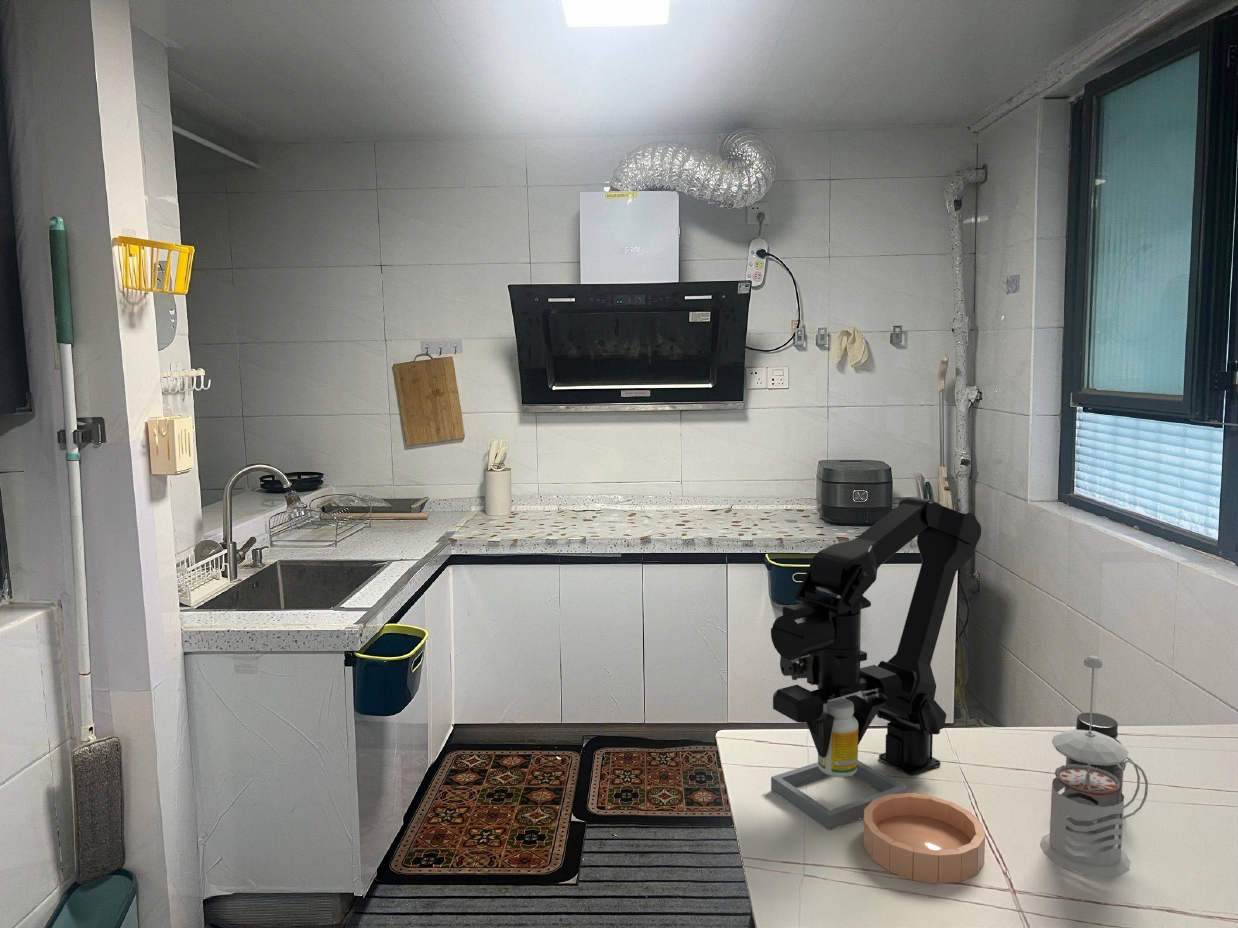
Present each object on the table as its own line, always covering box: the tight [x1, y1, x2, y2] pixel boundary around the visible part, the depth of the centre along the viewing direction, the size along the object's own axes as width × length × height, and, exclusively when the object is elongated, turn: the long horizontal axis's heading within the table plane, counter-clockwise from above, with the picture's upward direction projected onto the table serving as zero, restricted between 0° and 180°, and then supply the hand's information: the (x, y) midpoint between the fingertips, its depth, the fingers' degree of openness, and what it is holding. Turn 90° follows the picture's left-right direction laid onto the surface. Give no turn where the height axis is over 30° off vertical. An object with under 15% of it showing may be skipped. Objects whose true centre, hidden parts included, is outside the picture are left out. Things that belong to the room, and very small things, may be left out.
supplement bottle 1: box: [817, 698, 859, 778], centre depth 118 cm, size 5×5×10 cm
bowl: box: [863, 792, 986, 885], centre depth 106 cm, size 14×14×4 cm
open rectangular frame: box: [770, 760, 908, 831], centre depth 119 cm, size 14×12×2 cm
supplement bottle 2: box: [1063, 712, 1125, 805], centre depth 115 cm, size 7×7×12 cm
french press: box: [1039, 655, 1149, 878], centre depth 103 cm, size 10×12×25 cm
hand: (837, 751), depth 118 cm, fingers closed on supplement bottle 1, 5 cm apart
